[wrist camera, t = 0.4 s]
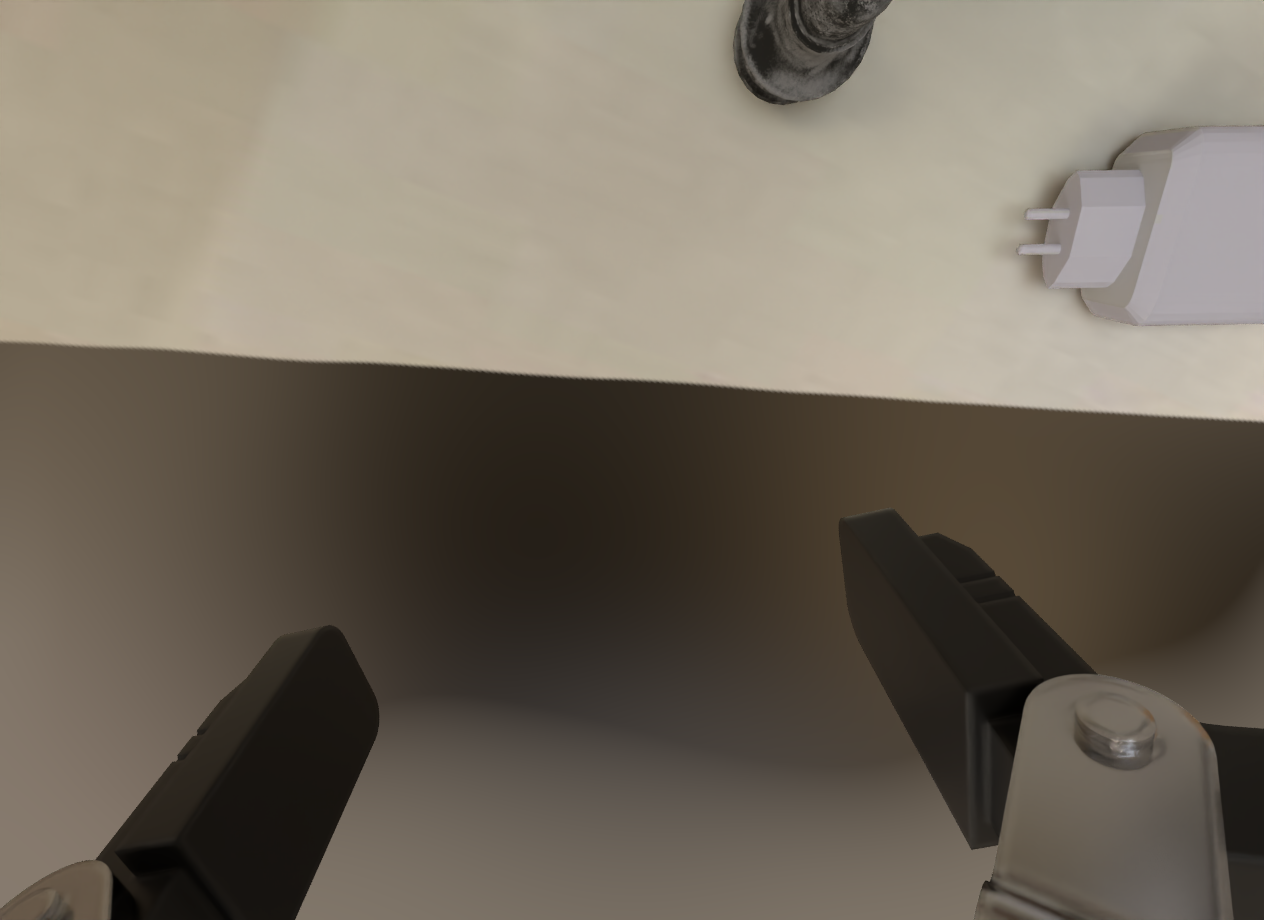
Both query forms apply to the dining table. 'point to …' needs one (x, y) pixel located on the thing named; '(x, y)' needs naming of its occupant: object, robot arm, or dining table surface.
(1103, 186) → the charger
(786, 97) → the salt shaker
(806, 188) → the dining table surface
